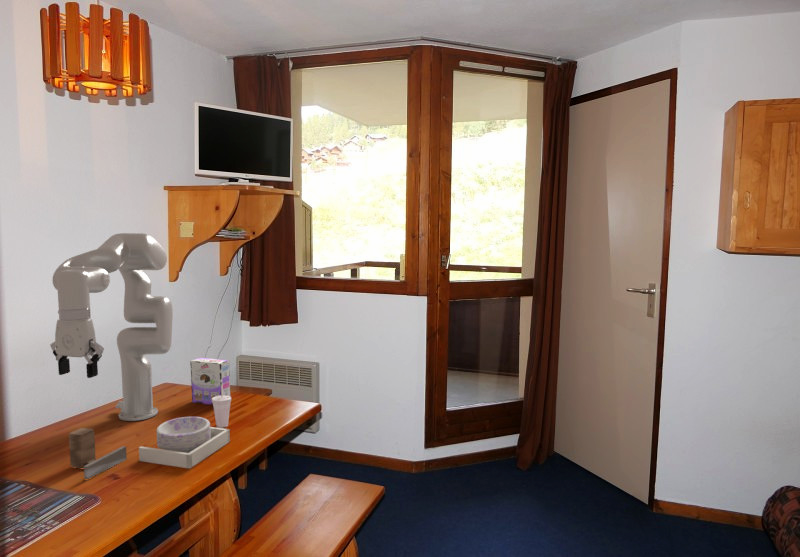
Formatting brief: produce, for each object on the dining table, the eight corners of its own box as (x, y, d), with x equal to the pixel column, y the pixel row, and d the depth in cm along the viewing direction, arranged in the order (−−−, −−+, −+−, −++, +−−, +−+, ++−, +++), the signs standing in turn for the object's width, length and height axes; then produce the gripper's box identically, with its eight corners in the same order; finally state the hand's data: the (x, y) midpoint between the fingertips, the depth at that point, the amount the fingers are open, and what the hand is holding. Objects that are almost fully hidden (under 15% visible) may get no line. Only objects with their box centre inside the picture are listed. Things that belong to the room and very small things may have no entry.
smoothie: (235, 422, 194) (234, 383, 192) (227, 429, 188) (226, 388, 186) (217, 421, 195) (216, 382, 193) (209, 428, 188) (207, 388, 187)
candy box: (231, 401, 216) (230, 359, 214) (221, 406, 210) (220, 363, 208) (201, 397, 220) (200, 356, 218) (191, 402, 215) (189, 360, 213)
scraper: (56, 475, 154) (53, 439, 153) (96, 454, 168) (94, 422, 166) (88, 480, 151) (86, 444, 150) (126, 459, 165) (125, 426, 163)
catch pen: (139, 460, 163) (138, 447, 163) (183, 435, 182) (183, 423, 182) (189, 468, 159) (189, 454, 158) (229, 441, 178) (229, 429, 177)
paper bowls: (160, 465, 161) (159, 438, 160) (154, 446, 174) (153, 421, 173) (215, 454, 168) (214, 428, 167) (206, 437, 181) (205, 413, 181)
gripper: (38, 315, 154) (42, 376, 156) (89, 318, 149) (92, 381, 151) (61, 310, 161) (64, 369, 163) (111, 314, 157) (114, 374, 158)
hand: (78, 375), depth 157 cm, fingers open, 9 cm apart
